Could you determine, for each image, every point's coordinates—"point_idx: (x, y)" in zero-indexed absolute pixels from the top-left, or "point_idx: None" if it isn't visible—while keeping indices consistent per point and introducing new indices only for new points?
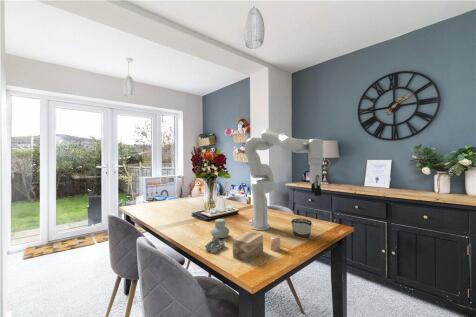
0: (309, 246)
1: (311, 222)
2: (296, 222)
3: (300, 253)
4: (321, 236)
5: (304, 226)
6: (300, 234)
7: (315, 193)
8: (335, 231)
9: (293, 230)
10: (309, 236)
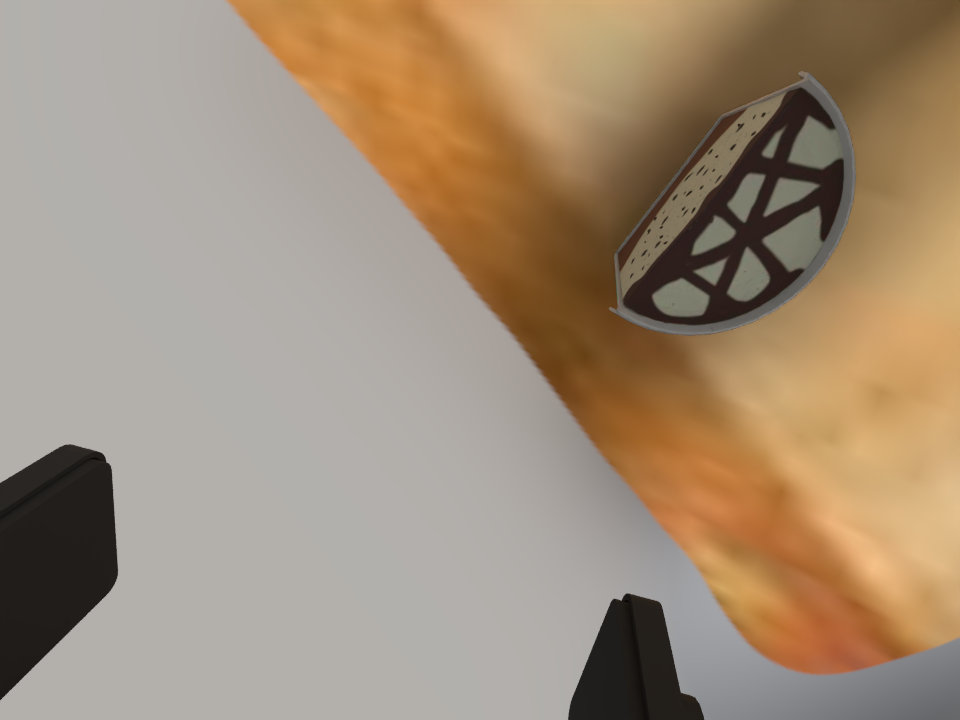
0: (467, 193)
1: (631, 318)
2: (748, 145)
3: (333, 58)
4: (669, 387)
5: (667, 232)
6: (680, 183)
7: (14, 495)
8: (756, 546)
9: (743, 111)
10: (619, 259)
